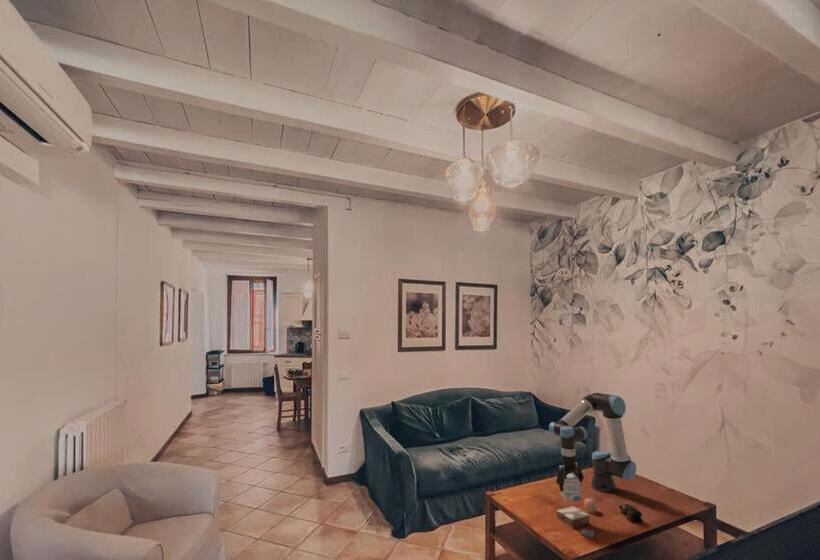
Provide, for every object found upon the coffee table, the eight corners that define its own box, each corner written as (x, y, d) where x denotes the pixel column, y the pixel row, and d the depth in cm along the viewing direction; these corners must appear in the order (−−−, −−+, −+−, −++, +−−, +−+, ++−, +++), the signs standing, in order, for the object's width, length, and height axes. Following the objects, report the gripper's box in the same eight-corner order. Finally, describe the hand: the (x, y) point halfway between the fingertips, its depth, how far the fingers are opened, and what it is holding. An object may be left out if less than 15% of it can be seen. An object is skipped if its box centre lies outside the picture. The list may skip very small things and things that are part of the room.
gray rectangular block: (581, 535, 205) (580, 531, 205) (582, 532, 208) (581, 528, 209) (593, 539, 202) (593, 535, 202) (594, 535, 205) (594, 531, 205)
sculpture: (616, 512, 227) (616, 500, 228) (626, 511, 228) (625, 499, 229) (633, 524, 214) (632, 511, 215) (643, 523, 215) (642, 510, 216)
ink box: (577, 494, 224) (576, 473, 225) (581, 501, 216) (579, 479, 217) (562, 493, 226) (560, 473, 227) (564, 500, 217) (563, 479, 219)
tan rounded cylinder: (582, 509, 232) (582, 499, 232) (590, 507, 234) (589, 497, 235) (591, 514, 226) (590, 503, 227) (598, 512, 229) (597, 501, 229)
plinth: (557, 518, 223) (556, 510, 223) (572, 513, 227) (572, 505, 228) (573, 528, 212) (572, 519, 212) (589, 523, 216) (588, 514, 217)
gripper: (557, 460, 215) (560, 501, 213) (588, 453, 224) (591, 493, 222) (547, 456, 222) (550, 496, 220) (578, 449, 231) (581, 488, 229)
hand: (571, 494), depth 221 cm, fingers closed on ink box, 11 cm apart
